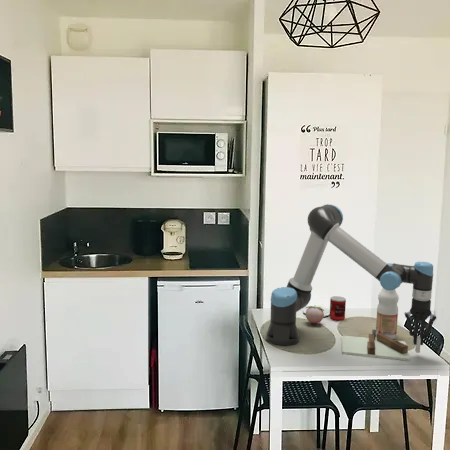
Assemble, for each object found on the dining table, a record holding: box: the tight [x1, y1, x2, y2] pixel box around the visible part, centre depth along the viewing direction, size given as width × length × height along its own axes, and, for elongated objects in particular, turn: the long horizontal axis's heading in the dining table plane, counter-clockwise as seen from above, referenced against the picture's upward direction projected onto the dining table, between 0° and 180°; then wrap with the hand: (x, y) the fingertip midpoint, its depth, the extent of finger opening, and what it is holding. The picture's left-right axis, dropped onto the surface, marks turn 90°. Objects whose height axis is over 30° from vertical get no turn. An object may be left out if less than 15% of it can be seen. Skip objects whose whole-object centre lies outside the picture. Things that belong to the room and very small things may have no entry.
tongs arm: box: [376, 333, 409, 354], centre depth 230 cm, size 3×17×3 cm, turn 22°
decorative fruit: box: [304, 305, 325, 325], centre depth 260 cm, size 9×8×10 cm
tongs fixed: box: [367, 329, 377, 355], centre depth 230 cm, size 4×20×4 cm, turn 167°
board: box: [341, 335, 411, 362], centre depth 230 cm, size 28×20×1 cm
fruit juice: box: [375, 287, 400, 340], centre depth 243 cm, size 9×9×28 cm
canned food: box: [329, 295, 347, 322], centre depth 269 cm, size 8×8×11 cm
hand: (417, 351), depth 222 cm, fingers closed
